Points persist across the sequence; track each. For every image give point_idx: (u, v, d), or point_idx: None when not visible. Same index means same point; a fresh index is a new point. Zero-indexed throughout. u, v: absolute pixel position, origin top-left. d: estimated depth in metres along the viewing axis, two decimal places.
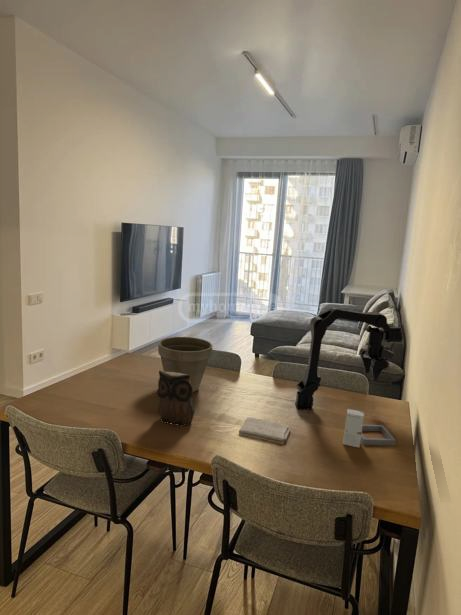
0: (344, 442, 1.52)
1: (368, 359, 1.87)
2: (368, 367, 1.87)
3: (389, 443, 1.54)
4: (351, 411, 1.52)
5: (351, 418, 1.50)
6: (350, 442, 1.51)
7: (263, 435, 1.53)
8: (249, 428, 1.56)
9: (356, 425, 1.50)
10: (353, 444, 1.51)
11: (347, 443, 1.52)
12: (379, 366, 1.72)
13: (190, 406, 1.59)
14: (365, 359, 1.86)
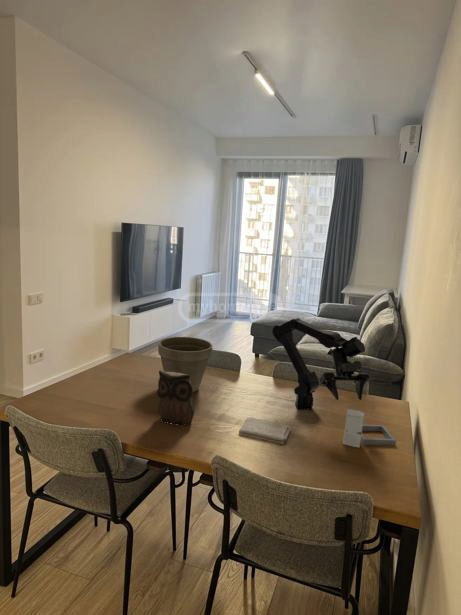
0: (344, 442, 1.52)
1: (358, 384, 1.64)
2: (359, 392, 1.62)
3: (389, 443, 1.54)
4: (351, 411, 1.52)
5: (351, 418, 1.50)
6: (350, 442, 1.51)
7: (263, 435, 1.53)
8: (249, 428, 1.56)
9: (356, 425, 1.50)
10: (353, 444, 1.51)
11: (347, 443, 1.52)
12: (321, 381, 1.63)
13: (190, 406, 1.59)
14: (356, 385, 1.65)
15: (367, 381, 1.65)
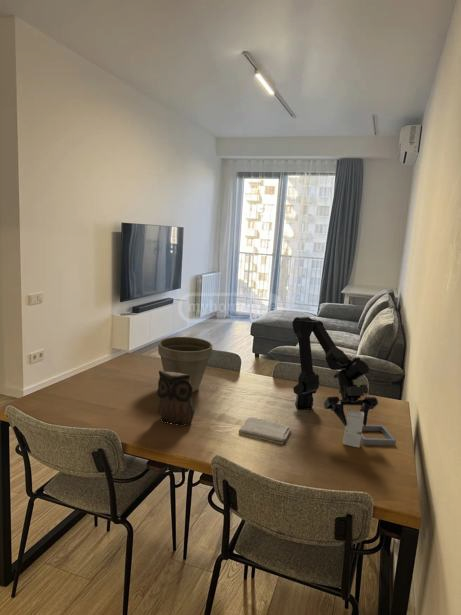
0: (344, 442, 1.52)
1: (362, 409, 1.55)
2: None
3: (389, 443, 1.54)
4: (351, 411, 1.52)
5: (351, 418, 1.50)
6: (350, 442, 1.51)
7: (262, 435, 1.53)
8: (249, 428, 1.56)
9: (356, 425, 1.50)
10: (353, 444, 1.51)
11: (347, 443, 1.52)
12: (325, 405, 1.55)
13: (190, 406, 1.59)
14: (361, 410, 1.56)
15: (375, 405, 1.56)
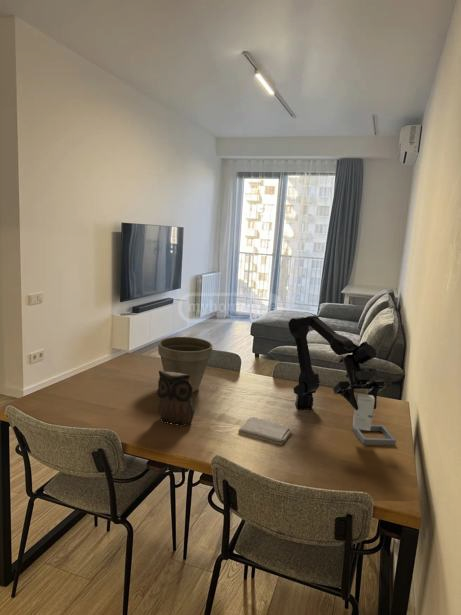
0: (355, 426, 1.53)
1: (370, 392, 1.56)
2: None
3: (389, 443, 1.54)
4: (361, 395, 1.52)
5: (362, 402, 1.51)
6: (361, 426, 1.52)
7: (262, 435, 1.53)
8: (249, 427, 1.57)
9: (367, 409, 1.51)
10: (364, 427, 1.52)
11: (357, 427, 1.52)
12: (335, 390, 1.54)
13: (190, 406, 1.59)
14: (369, 394, 1.57)
15: (382, 388, 1.58)
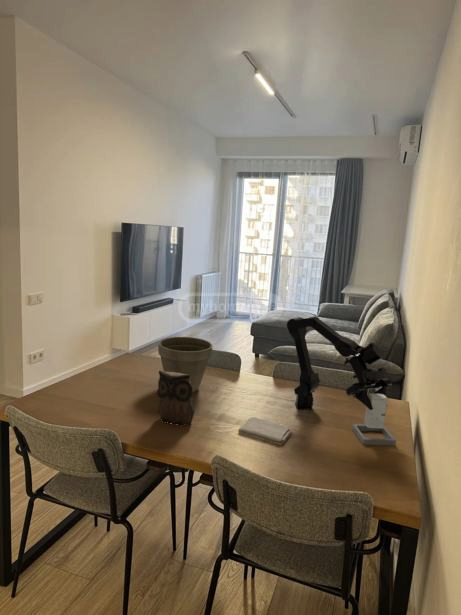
0: (369, 425, 1.56)
1: (379, 391, 1.61)
2: None
3: (389, 443, 1.54)
4: (374, 395, 1.56)
5: (376, 401, 1.55)
6: (375, 425, 1.56)
7: (261, 435, 1.53)
8: (249, 427, 1.57)
9: (380, 407, 1.55)
10: (378, 426, 1.56)
11: (372, 426, 1.56)
12: (349, 392, 1.56)
13: (190, 406, 1.59)
14: (377, 392, 1.62)
15: (388, 386, 1.64)
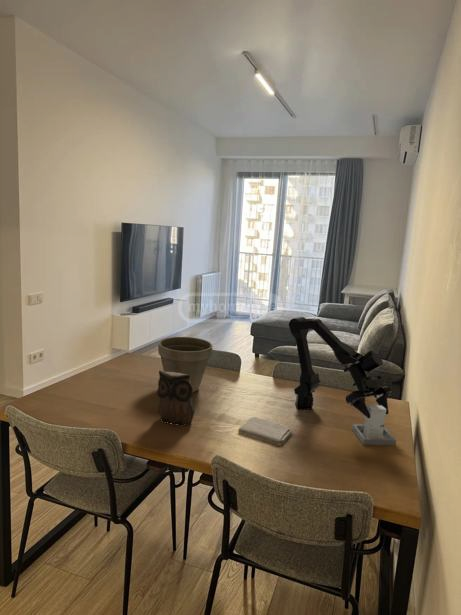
0: (368, 437, 1.57)
1: (380, 398, 1.62)
2: (384, 407, 1.60)
3: (389, 443, 1.54)
4: (373, 406, 1.57)
5: (375, 413, 1.56)
6: (374, 436, 1.57)
7: (261, 435, 1.53)
8: (249, 427, 1.57)
9: (379, 419, 1.56)
10: (376, 437, 1.57)
11: (371, 437, 1.57)
12: (349, 400, 1.57)
13: (190, 406, 1.59)
14: (378, 400, 1.63)
15: None
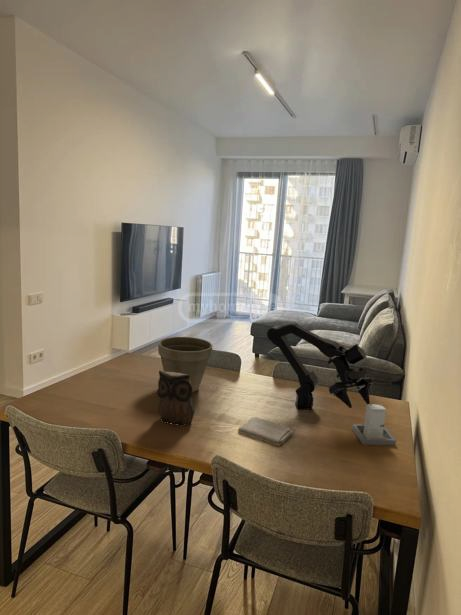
0: (368, 437, 1.57)
1: (362, 389, 1.70)
2: (366, 397, 1.68)
3: (389, 443, 1.54)
4: (373, 406, 1.57)
5: (374, 413, 1.56)
6: (374, 436, 1.57)
7: (260, 435, 1.53)
8: (249, 427, 1.57)
9: (379, 419, 1.56)
10: (376, 437, 1.57)
11: (371, 437, 1.57)
12: (332, 391, 1.65)
13: (190, 406, 1.59)
14: (360, 390, 1.71)
15: None
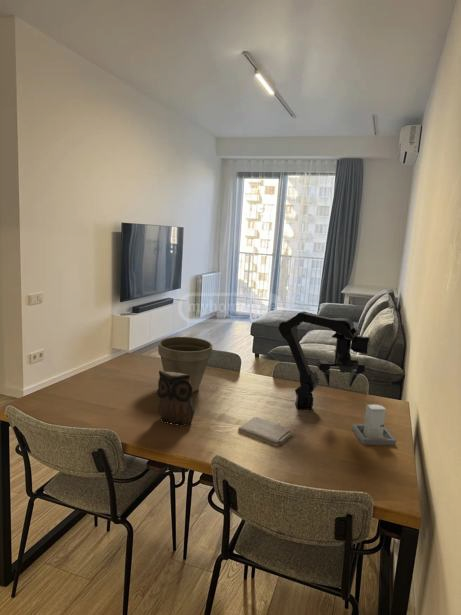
0: (368, 437, 1.57)
1: (352, 372, 1.73)
2: (350, 380, 1.74)
3: (389, 443, 1.54)
4: (373, 406, 1.57)
5: (374, 413, 1.56)
6: (374, 436, 1.57)
7: (259, 435, 1.53)
8: (248, 427, 1.57)
9: (379, 419, 1.56)
10: (376, 437, 1.57)
11: (371, 437, 1.57)
12: (317, 366, 1.73)
13: (190, 406, 1.59)
14: (351, 371, 1.75)
15: None
